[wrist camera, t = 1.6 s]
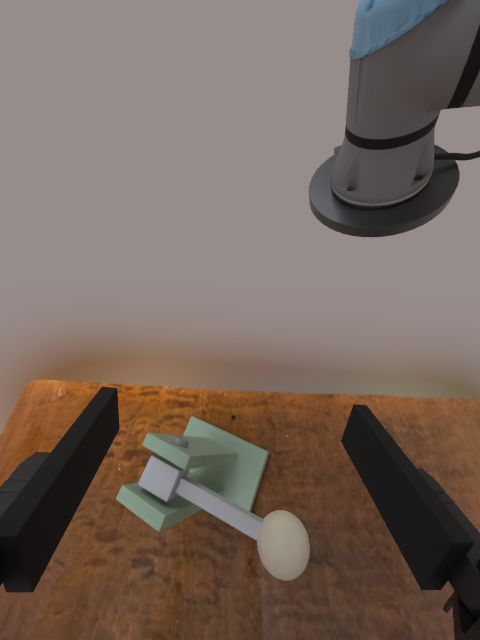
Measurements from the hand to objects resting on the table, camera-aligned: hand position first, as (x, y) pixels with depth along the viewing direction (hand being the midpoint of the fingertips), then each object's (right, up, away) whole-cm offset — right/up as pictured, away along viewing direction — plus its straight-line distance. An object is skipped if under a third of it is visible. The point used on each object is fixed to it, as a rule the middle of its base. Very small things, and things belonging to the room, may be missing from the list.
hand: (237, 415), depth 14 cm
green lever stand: (-3, -13, +17) cm, 21 cm away
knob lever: (-1, -10, +6) cm, 12 cm away
